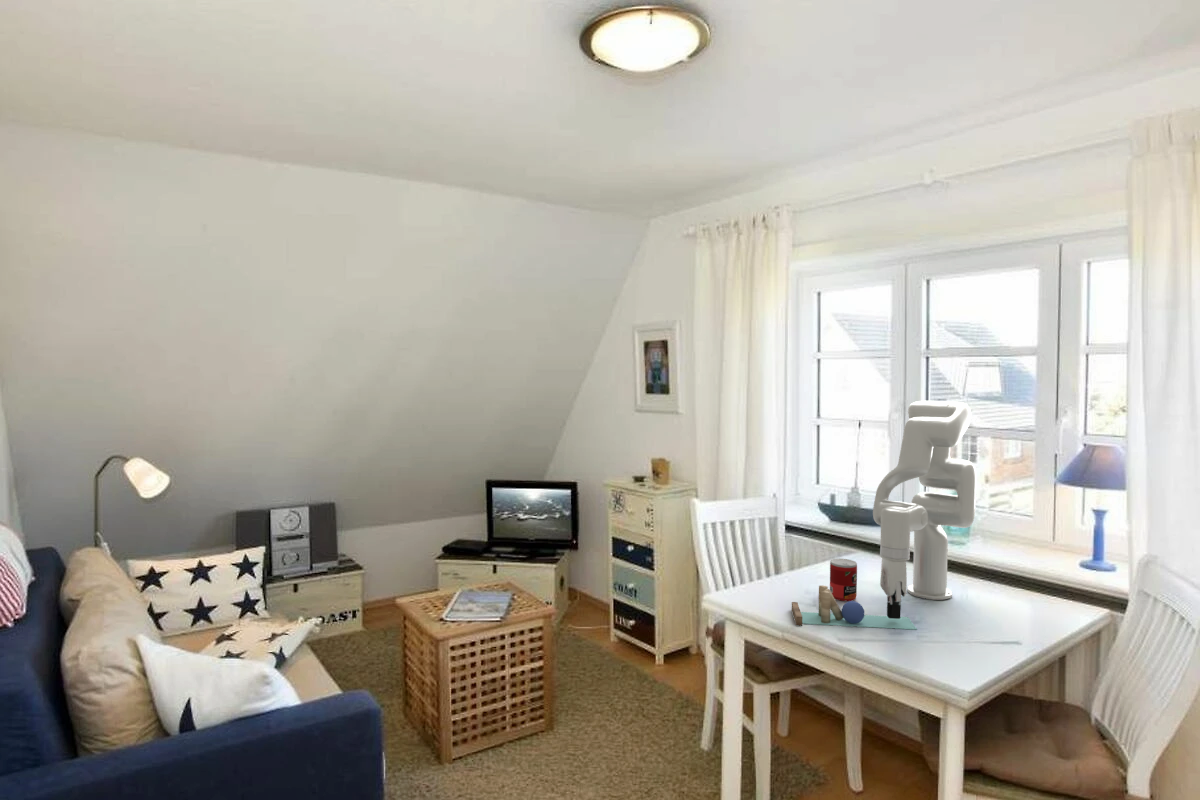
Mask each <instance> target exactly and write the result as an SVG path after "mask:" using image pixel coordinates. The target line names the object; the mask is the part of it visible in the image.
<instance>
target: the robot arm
mask: <svg viewBox="0 0 1200 800" xmlns="http://www.w3.org/2000/svg"><path fill="white" fill-rule="evenodd" d="M907 412H908V413H907V415H908V417H909V419H908V420H907V421H906V422H905V425H904V429H903V430H904V431H903V436H902V441H901V446H900V452H899V456H898V457H899V458H898V463H897V466H896V467H894V468H893V469H892V470H891V471H889V472H888V473H887V474H886V475H885V476H884V477H883V479H882V480H881V481H880V483H879V484H878V487H877V489H876V491H875V492H876V493H875V496H874V503H873V506H872V507H873V508H872V516H873V517H872V518H873V520H874V522H875V523H876V524H877V525H879V526H880V543H879V544H880V548H879V557H880V558H881V565H880V578H879V579H880V581H879V582H880V583H879V585H880V587H881V589H882V591H883V592H884V593H885V594H886V595H887V596H886V599H887V600H886V601H887V602H886V616H888V618H893V619H900V617H901V610H902V609H901V605H902V597H903V598H904V597H906V595H907V593H909V594H910V595H912V596H915V597H918V598H922V599H925V598H926V599H925V600H933V601H935V600H936V601H942V600H943V601H945V600H949V599H950V598H952V597H953V592H952V591H951V589H949V588H948V587H947V586H948V585H947V583H948V582H947V581H948V546H949V545H948V544H949V540H948V536H947V533H946V532H945V530H944V529H943V528H942V526H947V527H953V528H959V529H960V528H961V529H966V528H970V527H971V526H972V525H973V523H974V519H975V513H976V512H975V511H976V497H977V496H976V495H977V494H976V492H977V471H976V467H975V465H974V463H973V462H971V461H970V460H968V459H967V460H966V459H961V458H960V459H959V458H951V448H954V447H955V446H957V445H958V443H959V442H960V441H961V439H962V437H963V436H964V434H965V433H966V431H967V429H968V428H969V426H970V423H971V421H972V412H971V408H970V406H969V405H968V404H967V403H965V402H962V401H961V402H960V401H941V400H940V401H939V400H918V401H914V402H912V403H910V405H909V406H908V411H907ZM916 478H918V481H919V483H920V484H921V485H922V486H923V487H926V488H931V489H937V490H938V489H939V490H940V489H941V490H947V491H954V492H956V494H948V493H941V492H933V491H931V492H930V491H921V492H919V493H916V494H915V495H914V496H913V497H912V499H911V502H910V503H909V502H904V501H897V500H890V499H889V498H890V495H891V493H892V492H893V491H894V489H895V488H896V487H897V486H899V485H901V484H902V483H904V482H907V481H911V480H913V479H916ZM911 532H913V563H912V564H913V569H912V576H913V579H912V584H909V585H908V584H907V577H908V576H907V575H908V574H907V568H908V567H907V561H910V558H911V557H910V556H911V554H910V553H911ZM907 585H908V586H907Z"/></svg>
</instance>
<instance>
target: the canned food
mask: <svg viewBox="0 0 1200 800" xmlns="http://www.w3.org/2000/svg"><path fill="white" fill-rule="evenodd" d="M857 582H858V563H857V562H856V561H855V560H852V559H848V558H833V559H830V562H829V590H830V591H831V593H832V595H833V597H834V599H835V600H836V601H841V602H849V601H852V600H853V601H856V599H857V594H858V593H857V592H858V591H857V588H858V587H857V586H858V583H857Z"/></svg>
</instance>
